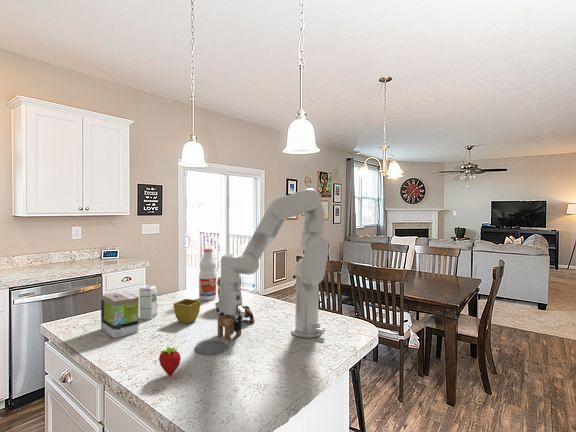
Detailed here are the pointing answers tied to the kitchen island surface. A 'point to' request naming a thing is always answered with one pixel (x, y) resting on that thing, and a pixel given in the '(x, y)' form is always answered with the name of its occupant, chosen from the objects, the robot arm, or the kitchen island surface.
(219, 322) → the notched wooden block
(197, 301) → the flower pot
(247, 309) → the brown curved piece
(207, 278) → the white plastic bottle
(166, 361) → the strawberry
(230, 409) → the kitchen island surface
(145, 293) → the syrup box
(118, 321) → the tea box
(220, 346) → the mat
